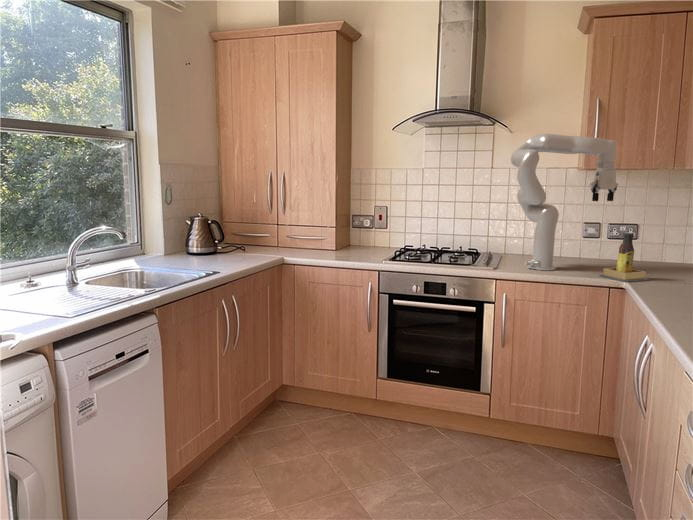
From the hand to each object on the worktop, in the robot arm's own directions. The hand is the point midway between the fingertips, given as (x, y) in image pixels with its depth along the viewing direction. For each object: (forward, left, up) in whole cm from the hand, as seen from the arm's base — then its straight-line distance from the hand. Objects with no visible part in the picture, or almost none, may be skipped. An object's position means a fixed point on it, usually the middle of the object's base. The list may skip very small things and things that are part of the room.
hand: (602, 201), depth 259 cm
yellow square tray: (-11, -26, -33) cm, 44 cm away
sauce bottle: (-11, -26, -33) cm, 43 cm away
